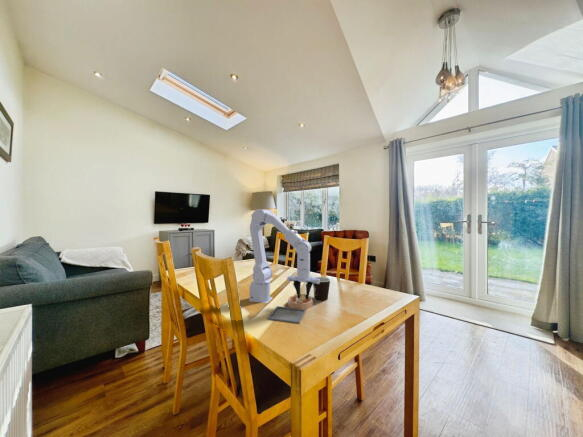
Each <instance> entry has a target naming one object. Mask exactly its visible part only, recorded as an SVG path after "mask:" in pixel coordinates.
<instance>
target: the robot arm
mask: <svg viewBox="0 0 583 437" xmlns="http://www.w3.org/2000/svg"><path fill="white" fill-rule="evenodd" d="M266 224H271V225H272V226H274V227H275V228H276V229H277V230H278V231H279V232H280V233H281V234H283V235H284V240H286V242H288V244H290V245H291V246H292V247H293V248H294V249H295V252H296V255H297V257H296V258H297V261H296V262H297V263H296V264H297V265H296V275H291V276H290V275H288V276H287V278H286V279H287V282H292V283H293V284H292V285H293V287H294V289H295V292H296V295H297V296H298V298H300V295H301V284H302V283H305V290H306V293H305V294H306V299H308V298H309V297H310V292H311V289H312V288H313V283H317V284H319V283H320V279H318V278H315V277H311V274H310V272H311V253H310V252H311V251H312V244H311V243H310V241H309V240H306V239H305V238H304V237H302V236H301V235H300V234H299V233H298V230H294V229H290V228H288V226H286V224H285V223H284V222H283V221H282V220H281V219H280V218H279V217H278V216H277V215H276V214H275V213H274V212H273V211H271V209H268V208H267V209H261V208H257V209H255V210H254V211H253V212H252V214H251V220H250V224H249V231H250V237H251V243H252V251H253V257H254V263H255V264H254V265H253V267H252V269H253V270H252V271H253V272H252V281H251V282H250V285H249V300H248V302H254V303H255V302H256V303H262V304H268V303H269V302H270V301H271V300H272V299H273V298H274V297H273V296H271V278H272V277H273V270H272V268H271V266H270V262H269V261H267V256H266V250H265V242H264V236H263V231H262V229H263V228H264V227H265V225H266Z"/></svg>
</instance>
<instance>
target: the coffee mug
mask: <svg viewBox="0 0 583 437" xmlns="http://www.w3.org/2000/svg"><path fill="white" fill-rule="evenodd" d="M314 278H318V279H320V283H319V284H317V283H313V285H312V288H313V297H314V300H315V301H318V302H320V301H321V302H324V301H325V302H326V301H327V300H328V298H329V291H330V285H331V279H330V278H328V277H323V276H315V277H314Z"/></svg>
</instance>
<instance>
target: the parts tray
mask: <svg viewBox="0 0 583 437" xmlns="http://www.w3.org/2000/svg"><path fill="white" fill-rule="evenodd" d="M306 312H307V309H297V308H291V307H289V306H288V307H287V306H280V305H279V306H278V305H277V306H276V307H275V308H274V309H273V310H272V312H271V313H270V314H269V315H268V316H267V320H268V321H269V320H270V321H277V322H284V323H293V324H297V325H298V324H299V325H300V323H302V320H303V319H304V316H305V314H306Z"/></svg>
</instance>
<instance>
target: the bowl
mask: <svg viewBox="0 0 583 437" xmlns="http://www.w3.org/2000/svg"><path fill="white" fill-rule="evenodd" d="M297 297H298V296H297V294H294V295H291V296H289V297H288V298H287V305H288V307H289V308H297V309H305V310H307V309H310V308H312V307H313V304H314V300H313V298H312V296H309V298H308V299H306V300H305V301H303V302H302V303H296V298H297Z"/></svg>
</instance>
